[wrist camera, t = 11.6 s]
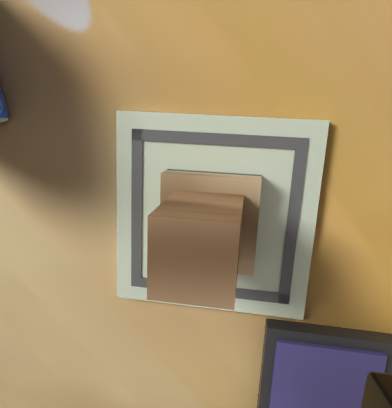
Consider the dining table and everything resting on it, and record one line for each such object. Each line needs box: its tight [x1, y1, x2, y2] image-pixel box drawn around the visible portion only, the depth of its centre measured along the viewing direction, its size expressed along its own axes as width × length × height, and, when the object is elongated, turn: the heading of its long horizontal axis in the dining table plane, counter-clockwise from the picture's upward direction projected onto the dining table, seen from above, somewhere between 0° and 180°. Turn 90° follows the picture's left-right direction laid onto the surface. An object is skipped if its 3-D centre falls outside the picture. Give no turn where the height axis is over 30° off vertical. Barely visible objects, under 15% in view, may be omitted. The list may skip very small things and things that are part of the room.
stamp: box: [147, 169, 262, 310], centre depth 16 cm, size 5×5×7 cm
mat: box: [116, 111, 329, 320], centre depth 20 cm, size 11×11×1 cm
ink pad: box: [257, 319, 392, 408], centre depth 21 cm, size 9×7×1 cm
